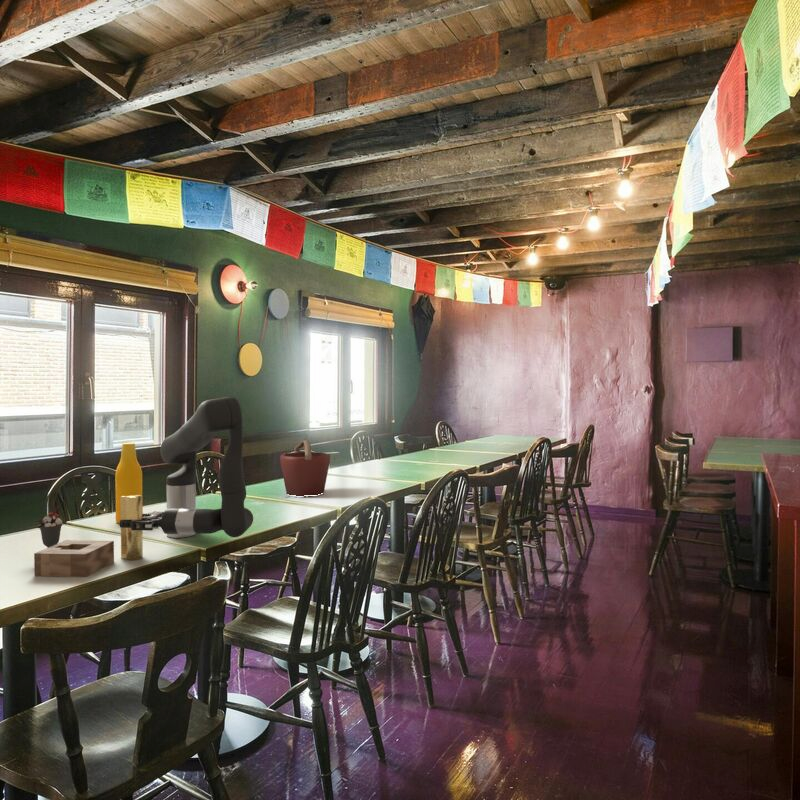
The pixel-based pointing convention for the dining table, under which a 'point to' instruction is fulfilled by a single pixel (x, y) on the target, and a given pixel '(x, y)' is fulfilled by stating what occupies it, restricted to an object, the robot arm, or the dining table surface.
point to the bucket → (304, 470)
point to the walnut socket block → (73, 558)
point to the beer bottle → (127, 477)
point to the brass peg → (130, 538)
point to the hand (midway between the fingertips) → (127, 520)
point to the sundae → (50, 529)
